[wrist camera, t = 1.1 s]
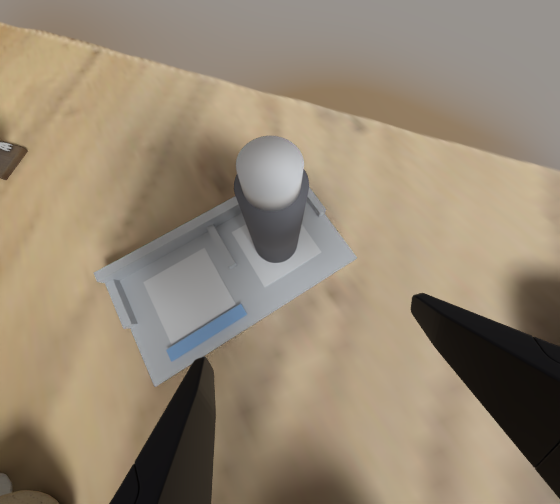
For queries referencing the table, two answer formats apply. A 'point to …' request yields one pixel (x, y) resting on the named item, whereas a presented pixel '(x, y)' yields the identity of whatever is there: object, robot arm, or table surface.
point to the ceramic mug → (21, 494)
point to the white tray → (213, 283)
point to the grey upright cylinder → (272, 195)
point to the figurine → (9, 158)
